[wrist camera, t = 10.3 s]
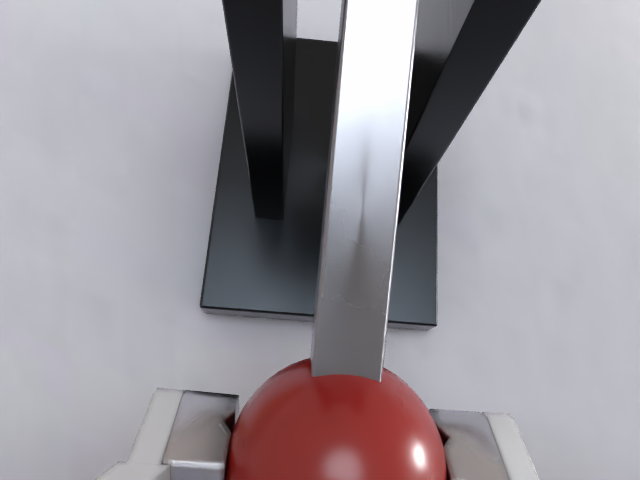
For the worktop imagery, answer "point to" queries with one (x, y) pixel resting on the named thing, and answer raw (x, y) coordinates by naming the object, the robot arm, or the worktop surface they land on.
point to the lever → (351, 289)
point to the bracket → (313, 146)
